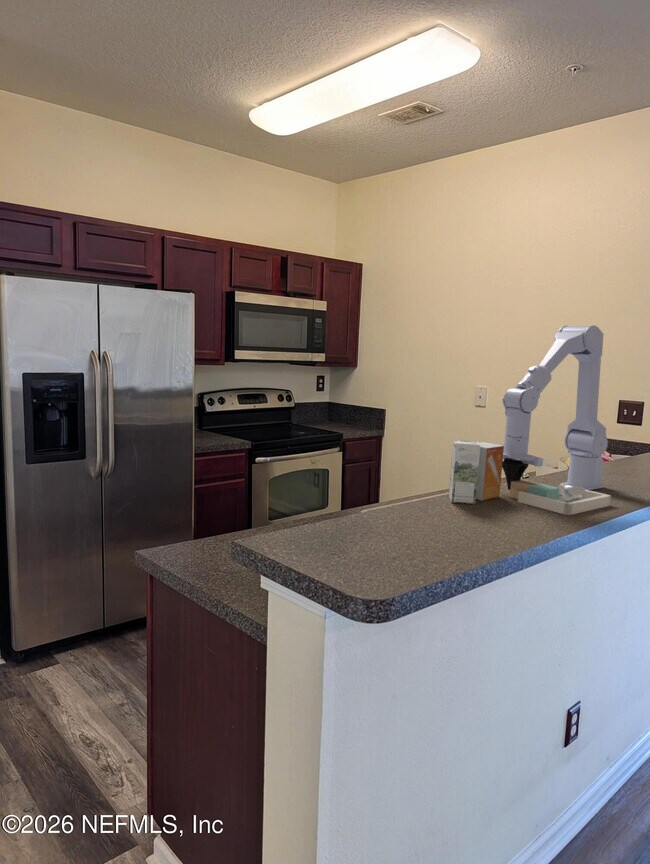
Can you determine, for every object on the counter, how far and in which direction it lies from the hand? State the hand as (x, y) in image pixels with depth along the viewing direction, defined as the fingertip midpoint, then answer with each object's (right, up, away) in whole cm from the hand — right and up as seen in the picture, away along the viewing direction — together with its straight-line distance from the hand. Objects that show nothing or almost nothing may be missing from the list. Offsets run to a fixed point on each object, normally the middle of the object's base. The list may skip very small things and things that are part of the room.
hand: (512, 489), depth 154 cm
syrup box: (-15, -2, -8) cm, 17 cm away
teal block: (+5, -3, -7) cm, 9 cm away
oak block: (+2, -2, -3) cm, 4 cm away
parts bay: (+10, -3, -7) cm, 13 cm away
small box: (-9, -2, -3) cm, 9 cm away
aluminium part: (+14, -3, -4) cm, 14 cm away
